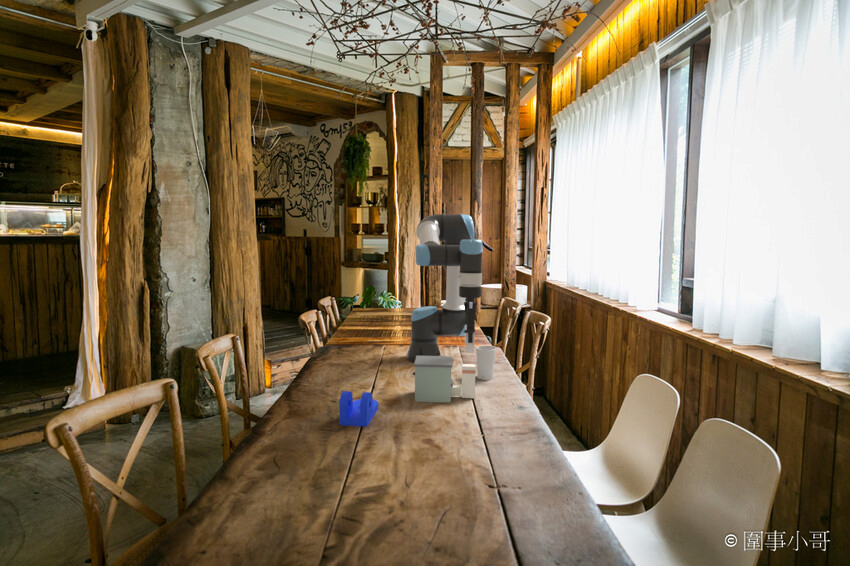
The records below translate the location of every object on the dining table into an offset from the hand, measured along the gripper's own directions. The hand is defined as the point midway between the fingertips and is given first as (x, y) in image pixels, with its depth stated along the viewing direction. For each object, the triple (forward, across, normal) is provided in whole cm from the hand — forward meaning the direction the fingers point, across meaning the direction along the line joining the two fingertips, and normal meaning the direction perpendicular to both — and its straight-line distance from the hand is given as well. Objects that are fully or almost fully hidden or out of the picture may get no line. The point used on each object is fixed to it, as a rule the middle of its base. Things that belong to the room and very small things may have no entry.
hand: (469, 347), depth 163 cm
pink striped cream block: (+17, 0, -5) cm, 18 cm away
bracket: (+18, +18, -34) cm, 42 cm away
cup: (+18, -24, +8) cm, 31 cm away
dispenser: (+18, 0, -12) cm, 21 cm away
